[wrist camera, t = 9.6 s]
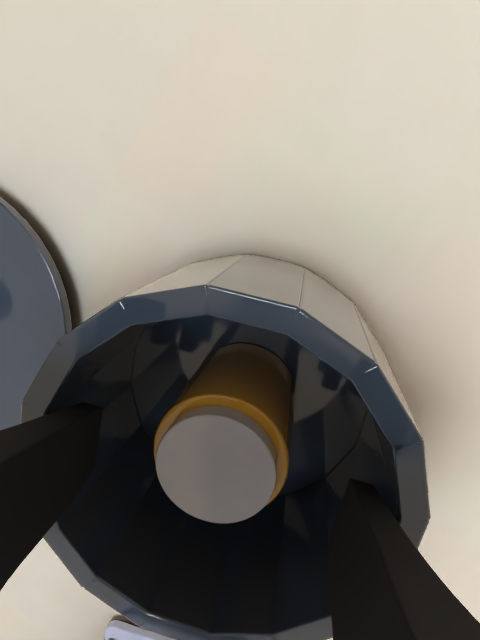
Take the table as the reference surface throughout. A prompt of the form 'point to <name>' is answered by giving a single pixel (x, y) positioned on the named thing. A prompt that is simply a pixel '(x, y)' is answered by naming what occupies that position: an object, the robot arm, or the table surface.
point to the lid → (26, 310)
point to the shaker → (228, 435)
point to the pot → (305, 458)
